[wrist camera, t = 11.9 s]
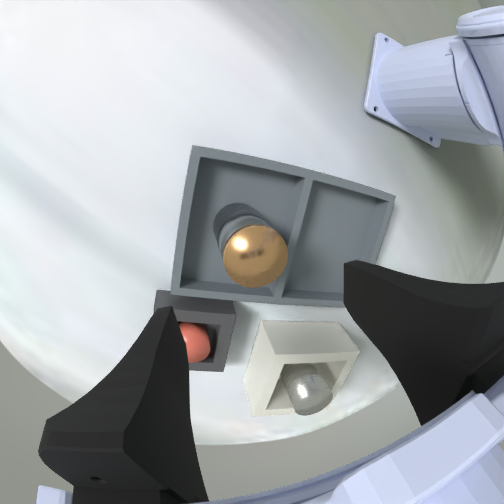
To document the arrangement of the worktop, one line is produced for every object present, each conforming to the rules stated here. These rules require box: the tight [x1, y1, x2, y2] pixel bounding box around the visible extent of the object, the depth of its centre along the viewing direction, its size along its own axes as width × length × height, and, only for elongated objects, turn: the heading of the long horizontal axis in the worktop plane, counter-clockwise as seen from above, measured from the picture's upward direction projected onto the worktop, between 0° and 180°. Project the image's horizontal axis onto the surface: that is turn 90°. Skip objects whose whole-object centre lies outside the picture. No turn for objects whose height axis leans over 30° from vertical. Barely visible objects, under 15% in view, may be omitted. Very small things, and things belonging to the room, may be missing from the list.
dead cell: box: [280, 363, 333, 415], centre depth 24 cm, size 3×3×6 cm
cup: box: [243, 320, 360, 417], centre depth 25 cm, size 8×8×5 cm
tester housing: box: [154, 290, 236, 372], centre depth 22 cm, size 6×6×2 cm
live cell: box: [213, 203, 288, 288], centre depth 18 cm, size 3×3×6 cm
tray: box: [171, 145, 396, 307], centre depth 21 cm, size 16×10×2 cm, turn 78°
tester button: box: [178, 321, 210, 363], centre depth 21 cm, size 3×3×2 cm
